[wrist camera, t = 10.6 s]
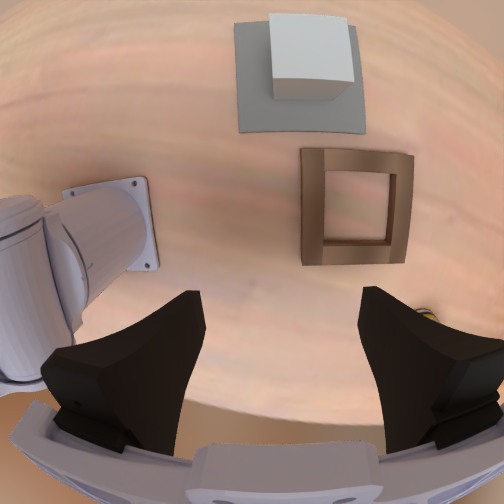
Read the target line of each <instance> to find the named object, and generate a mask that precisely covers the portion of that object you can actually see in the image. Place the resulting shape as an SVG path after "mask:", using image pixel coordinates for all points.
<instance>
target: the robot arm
mask: <svg viewBox="0 0 504 504" xmlns="http://www.w3.org/2000/svg"><path fill="white" fill-rule="evenodd" d="M134 181H136V182H137V186H135V185H134ZM73 192H74V195H73ZM62 197H63V201H61V202H58V203H55V204H53V205H50V206H47V207H45V208H43V204H42V202H41V201H38V200H36V199H35V198H34V197H33V196H31V195H19V196H13V197H8V198H3V199H0V397H2V396H4V395H7V394H10V393H14V392H34V391H39V390H43V389H45V388H48V389H49V391H50V392H51V393H52V395H53V396H54V398H55V399H56V400H57V402H58V403H59V404H60V406H61V408H60V410H59V411H58V412H57V411H56V410H55V409H54V408H52V407H50V406H48V405H46V404H44V403H42V402H40V401H38V400H34V401H33V402H32V404H31V405H30V406H29V408H28V409H27V411H26V412H25V413H24V415H23V416H22V418H21V419H20V421H19V422H18V423H17V425H16V426H15V428H14V429H13V431H12V432H11V434H10V435H9V437H8V439H9V441H10V442H11V443H12V444H13V445H14V446H16V448H17V449H19V450H20V451H21V452H22V453H23V454H24V455H25V456H26V457H27V458H29V459H30V460H31V461H32V462H33V463H34V464H36V465H37V466H38V467H39V468H40V469H41V470H43V471H44V472H45V473H47V474H49V475H50V476H52V477H53V478H55V479H57V480H58V481H60V482H62V483H63V484H65V485H67V486H68V487H70V488H72V489H74V490H75V491H77V492H79V493H81V494H83V495H85V496H87V497H88V498H90V499H92V500H94V501H96V502H99V503H101V504H449V503H451V502H453V501H455V500H457V499H458V498H461V497H463V496H464V495H466V494H468V493H470V492H472V491H473V490H475V489H477V488H479V487H480V486H482V485H484V484H485V483H487V482H488V481H490V480H492V479H493V478H495V477H496V476H498V475H499V474H501V473H502V472H504V403H503V404H502V405H501V406H499V404H498V402H497V400H498V399H499V398H500V395H499V393H498V392H497V389H498V388H499V386H500V385H501V383H502V381H503V380H504V340H502V339H494V338H487V337H481V336H477V335H473V334H469V333H465V332H462V331H459V330H456V329H453V328H450V327H447V326H445V325H443V324H440V323H438V322H436V321H434V320H432V319H430V318H428V317H426V316H424V315H422V314H420V313H419V312H417V311H415V310H413V309H412V308H410V307H409V306H407V305H405V304H404V303H402V302H401V301H399V300H398V299H396V298H395V297H393V296H392V295H390V294H389V293H387V292H385V291H384V290H382V289H381V288H379V287H377V286H370V287H363V293H362V299H361V306H360V312H359V318H358V324H357V326H358V330H359V335H360V339H361V343H362V346H363V348H364V351H365V354H366V356H367V359H368V362H369V364H370V367H371V370H372V372H373V375H374V378H375V381H376V384H377V387H378V392H379V397H380V402H381V407H382V413H383V420H384V428H385V438H386V455H383V456H378V455H377V450H376V447H375V446H373V445H371V444H368V443H366V442H363V441H361V440H353V441H334V442H323V443H309V444H287V445H286V444H285V445H284V444H281V445H268V444H266V445H265V444H240V443H219V444H217V443H215V444H211V445H208V446H205V447H202V448H200V449H197V450H196V451H195V455H194V459H193V460H189V459H183V458H178V457H173V455H174V447H175V440H176V434H177V428H178V422H179V417H180V412H181V407H182V403H183V399H184V395H185V391H186V388H187V385H188V382H189V379H190V376H191V374H192V371H193V369H194V366H195V364H196V361H197V358H198V356H199V353H200V350H201V348H202V344H203V340H204V336H205V331H206V324H205V319H204V313H203V308H202V302H201V296H200V291H192V290H187V291H185V292H183V293H181V294H180V295H178V296H177V297H175V298H174V299H173V300H171V301H170V302H168V303H167V304H165V305H164V306H163V307H161V308H160V309H158V310H157V311H155V312H153V313H152V314H150V315H149V316H147V317H146V318H144V319H142V320H141V321H139V322H137V323H135V324H133V325H131V326H129V327H127V328H125V329H123V330H121V331H119V332H116V333H114V334H111V335H108V336H106V337H103V338H100V339H97V340H94V341H90V342H87V343H83V344H78V345H77V344H76V340H75V338H74V335H73V334H74V333H75V332H76V331H77V330H78V329H79V328H80V326H81V325H82V324H83V322H82V312H83V310H84V309H85V308H86V307H87V306H88V305H89V304H90V303H91V302H92V301H93V300H95V299H96V298H97V297H98V296H99V295H100V294H101V293H102V292H103V291H104V290H105V289H106V288H107V287H108V286H109V285H110V284H111V283H112V282H113V281H114V280H115V279H116V278H118V277H119V276H120V275H121V274H122V273H123V272H124V271H156V270H157V269H158V268H159V261H158V256H157V250H156V244H155V238H154V232H153V225H152V218H151V211H150V203H149V195H148V186H147V180H146V178H145V177H143V176H139V177H132V178H126V179H119V180H113V181H107V182H101V183H96V184H90V185H85V186H80V187H75V188H70V189H66V190H64V191H63V193H62ZM146 263H148V264H149V265H150V267H148V266H147V264H146Z"/></svg>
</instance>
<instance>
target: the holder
mask: <svg viewBox="0 0 504 504" xmlns="http://www.w3.org/2000/svg"><path fill="white" fill-rule="evenodd" d="M325 170H334V171H360V172H377V173H390V194H389V210H388V222H387V232H386V241H323V236H324V198H325ZM413 180H414V156H413V155H405V154H396V153H386V152H375V151H362V150H345V149H317V148H301V189H302V230H301V262H302V266H305V265H357V264H395V263H405V257H406V250H407V243H408V236H409V228H410V219H411V209H412V197H413Z"/></svg>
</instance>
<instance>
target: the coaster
mask: <svg viewBox="0 0 504 504" xmlns="http://www.w3.org/2000/svg"><path fill="white" fill-rule="evenodd" d="M348 31H349V38H350V45H351V53H352V62H353V72H354V83H353V84H351V85H350V86H349V87H348V88H346V89H345V90H344V91H343V92H342V93H340V94H339V95H338V96H337V97H335V98H334V99H333V100H332V101H320V100H274V95H273V76H272V58H271V42H270V25H269V21H261V22H245V23H234V32H235V56H236V78H237V99H238V120H239V133H252V132H285V131H303V132H336V133H353V134H366V119H365V102H364V89H363V78H362V68H361V60H360V52H359V45H358V39H357V33H356V27H355V26H351V25H348Z"/></svg>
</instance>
